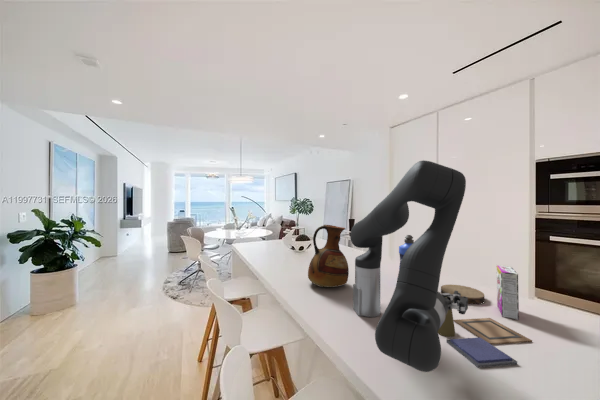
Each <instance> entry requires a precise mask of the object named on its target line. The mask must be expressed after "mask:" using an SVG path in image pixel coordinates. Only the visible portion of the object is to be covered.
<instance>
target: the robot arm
mask: <svg viewBox="0 0 600 400" xmlns="http://www.w3.org/2000/svg"><path fill="white" fill-rule="evenodd" d="M466 185H467V179H466V177H465V175H464V173H463V172H461V171H459V170H456V169H454V168H452V167H448V166H445V165H442V164H439V163H436V162H433V161H430V160H424V159H423V160H419V161H417V162H415V163H414V164H413V165H412V166H411V167H410V168H409V169H407V171H406V173H405V174H404V175H403V177H402V178H401V179H400V180H399V182H398V183H397V184H396V186H395V187H394V188H393V190H392V191H391V192H389V194H387V196H386V197H385V198H384V199H383V200H381V201H380V202H378V204H377V205H376V206H375V207H374V208H373V209H372V211H370V212H369V213H368V214H367V215H366V216H364V218H362V219H361V220H360V221H357V222H356V223H355V224H354V225H353V226H352V227H351V230H350V235H349V236H350V241H351V243H352V244H353V246H354V247H356V248H359V249H368V250H367V251H366V252H364V253H362V254H360V255H358V256H356V257H355V258H354V259H355V260H354V283H353V284H352V286H353V287H352V292H353V293H352V295H353V297H352V301H353V302H352V303H353V304H352V308H353V311H354V312H355V313H356V314H357V316H362V317H366V318H376V317H379V316H380V315H381V309H382V308H381V266H382V265H381V262H382V252H383V251H382V250H383V239H384V238H383V236H388V235H390V234H393V233H395V232H397V231H398V230H400V229H401V228H403V227H405V225H406V224H407V223H408V221H409V219H410V210H409V204H408V203H409V202H415V203H418V204H420V205H422V206H427V207H428V208H431V209H434V216H433V220H432V222H431V224H429V227H428V228H426V230H425V231H424V232H423V233H422V234H421V235H420V236H419V237H418V238H417V239H415V241H414V243H413V244H412V245H411V246H410V247H409V248H408V249H407V251H406V252H405V254H404V256H403V258H402V260H401V264H400V263H399V266H400V269H399V268H398V269H399V271H398V274H397V279H396V284H395V288H394V291H393V294H392V296H391V298H390V301H389V302H388V304H387V307H386V309H385V310H384V312H383V313H382V316H381V317H380V318H379V321H378V323H377V324H376V328H375V332H374V339H375V344H376V347H377V348H378V350H379V351H380V352H381V353H382V354H384V355H385V356H387V357H390V358H392V359H394V360H396V361H399V362H400V363H403V364H404V365H407V366H409V367H411V368H412V369H415V370H417V371H420V372H423V373H429V372H431V371H434V370H436V368H437V367H438V366H439V364H440V361H441V356H442V347H441V340H440V339H441V338H440V335H439V334H438V330H439V328H440V327H441V326H442V324H443V322H444V321H445V317H446V315H447V312H448V310H451V309H452V308H453V309H452V310H456V311H457V312H458V313H459V314H460V315H465V314H466V312H467V310H468V308H469V304H468V298H467V297H465V296H462V297H461V294H460V293H458V291H454V294H449V293H442V294H441V292H439V284H440V279H441V273H442V272H441V271H442V266H443V261H444V258H445V254H446V251H447V248H448V245H449V241H450V238H451V236H452V233H453V231H454V228H455V225H456V222H457V218H458V215H459V212H460V209H461V207H462V204H463V200H464V197H465V193H466V189H467V188H466V187H467V186H466ZM446 297H447V298H446Z"/></svg>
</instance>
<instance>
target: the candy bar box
mask: <svg viewBox="0 0 600 400" xmlns="http://www.w3.org/2000/svg"><path fill="white" fill-rule="evenodd" d="M496 292H497V293H496V302H497V304H496V306H497V308H498V312H500V315H501V317H503V318H506V319H511V320H517V321H519V319H520V310H519V309H520V308H519V307H520V306H519V303H520V302H519V301H520V300H519V273H517V272H516V270H515V269H514V268H513V266H506V265H496Z"/></svg>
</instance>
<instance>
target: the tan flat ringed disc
mask: <svg viewBox="0 0 600 400" xmlns="http://www.w3.org/2000/svg"><path fill="white" fill-rule="evenodd" d="M454 291H458V293H460V294H461V297H462V296H465V297H467V298H468V305H482V304H484V303H485V294H484V292H482V291H481V290H479V289H476V288H473V287H470V286H465V285H461V284H442V285H441V286H440V293H441V294H442V293H449V294H454ZM483 302H484V303H483ZM481 303H482V304H481Z"/></svg>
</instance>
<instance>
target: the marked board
mask: <svg viewBox="0 0 600 400" xmlns="http://www.w3.org/2000/svg"><path fill="white" fill-rule="evenodd" d="M453 321H454V324H457V325H458V326H460V327H462V328H463V329H465V330H466V331H467V332H469V333H470V334H471V335H474V336H475V337H476V338H479V337H481V338H482V339H484V340H485V341H487V342H488V343H490V344H491V345H493V346H494V345H508V344H521V343H533V340H532V339H531V338H529V337H526V336H525V335H523V334H521V333H520V332H517V331H515V330H514V329H511V328H510V327H508V326H506V325H504V324H502V323H500V322H498V321H497V320H494V319H493V318H492V317H484V318H483V317H482V318H481V317H480V318H462V319H453Z"/></svg>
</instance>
